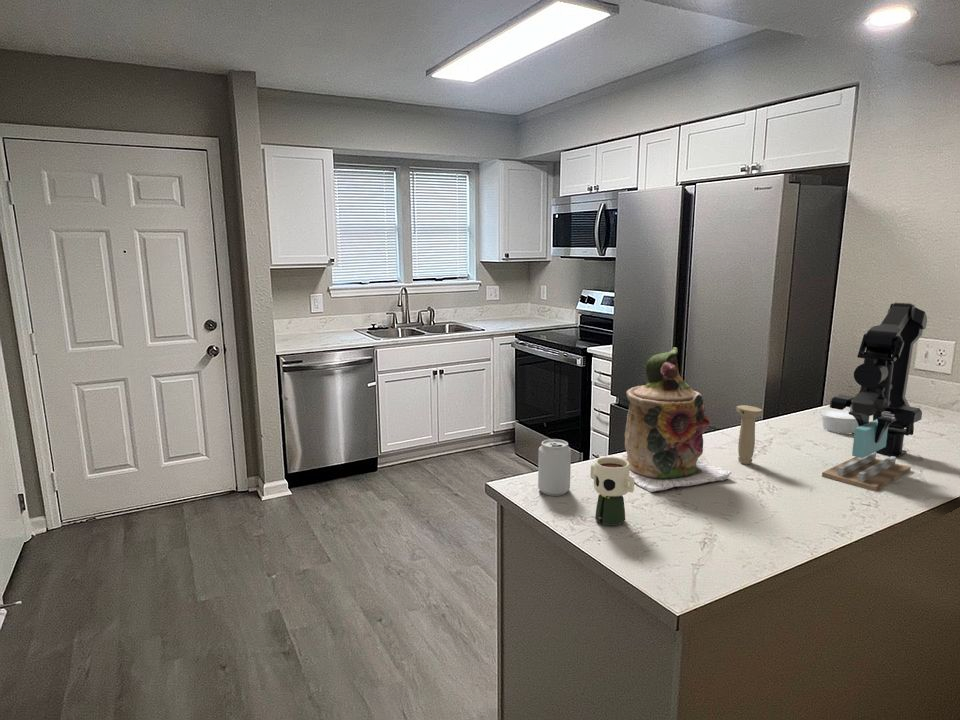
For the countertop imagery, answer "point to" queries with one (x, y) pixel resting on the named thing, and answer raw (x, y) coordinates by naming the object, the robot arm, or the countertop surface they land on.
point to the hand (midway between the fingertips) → (870, 441)
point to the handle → (747, 432)
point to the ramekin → (839, 421)
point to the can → (554, 467)
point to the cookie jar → (666, 430)
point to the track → (867, 471)
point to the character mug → (611, 488)
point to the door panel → (867, 440)
